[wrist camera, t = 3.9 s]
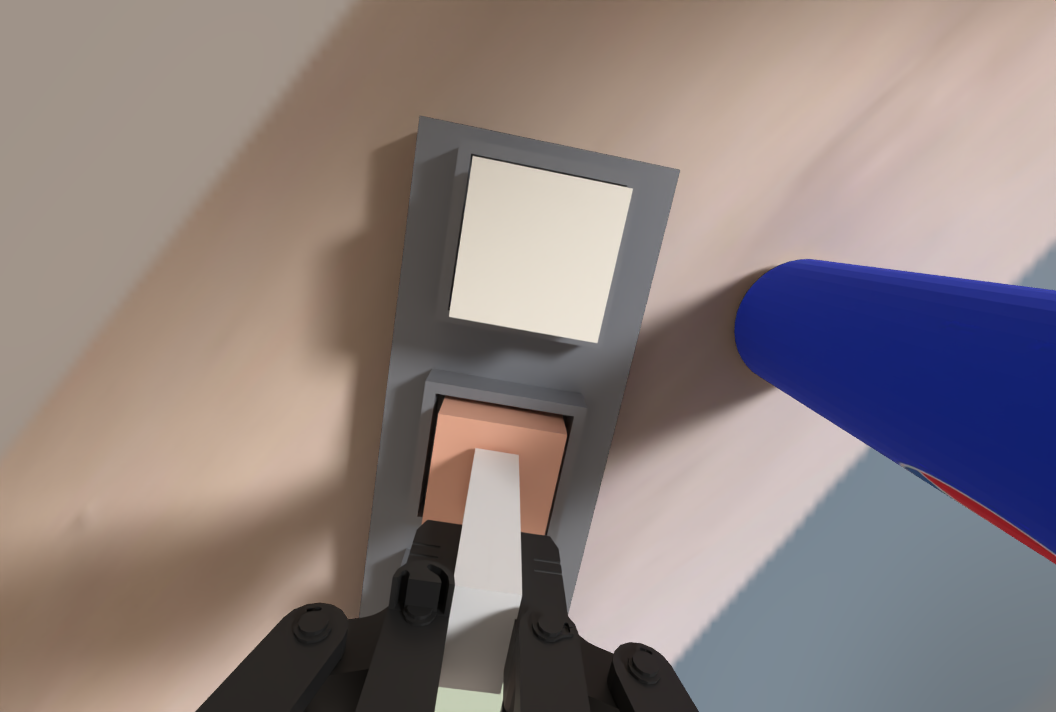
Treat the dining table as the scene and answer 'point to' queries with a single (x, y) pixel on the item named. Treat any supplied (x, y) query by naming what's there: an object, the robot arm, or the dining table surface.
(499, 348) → the console
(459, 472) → the terracotta button
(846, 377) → the beverage can
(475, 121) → the dining table surface
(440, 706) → the sage button
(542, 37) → the dining table surface
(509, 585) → the robot arm
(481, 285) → the cream button
